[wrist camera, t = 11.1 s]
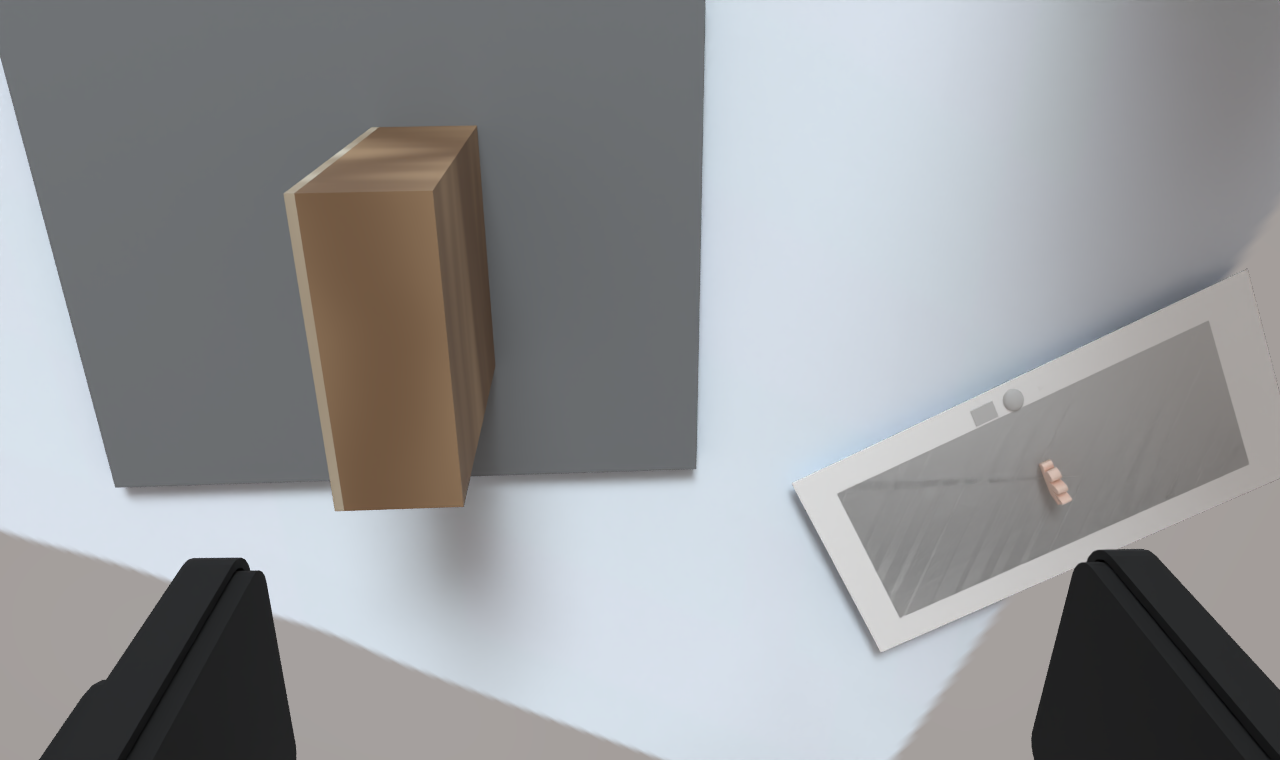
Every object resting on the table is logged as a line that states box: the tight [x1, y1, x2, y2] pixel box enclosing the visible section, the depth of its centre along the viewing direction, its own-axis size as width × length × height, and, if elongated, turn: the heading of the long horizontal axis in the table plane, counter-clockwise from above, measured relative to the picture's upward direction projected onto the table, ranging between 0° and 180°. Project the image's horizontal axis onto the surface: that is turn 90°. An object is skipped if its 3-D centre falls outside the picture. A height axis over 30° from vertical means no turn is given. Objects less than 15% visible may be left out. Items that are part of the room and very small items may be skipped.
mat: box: [0, 0, 705, 488], centre depth 27 cm, size 18×14×1 cm
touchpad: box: [792, 269, 1280, 652], centre depth 31 cm, size 8×15×2 cm, turn 118°
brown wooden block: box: [284, 125, 495, 511], centre depth 23 cm, size 3×7×8 cm, turn 0°
